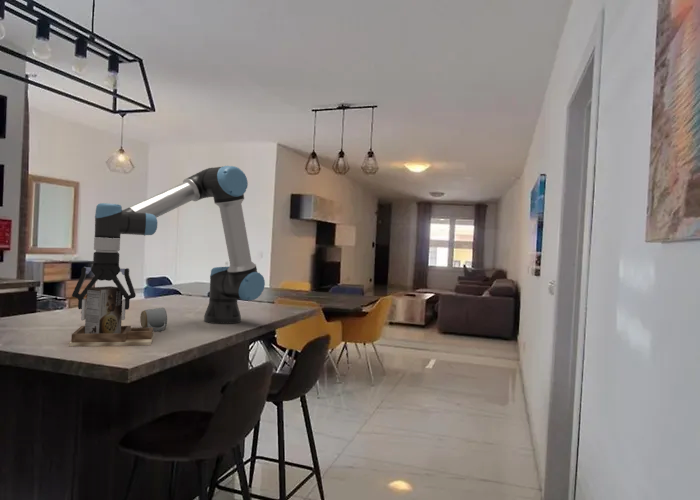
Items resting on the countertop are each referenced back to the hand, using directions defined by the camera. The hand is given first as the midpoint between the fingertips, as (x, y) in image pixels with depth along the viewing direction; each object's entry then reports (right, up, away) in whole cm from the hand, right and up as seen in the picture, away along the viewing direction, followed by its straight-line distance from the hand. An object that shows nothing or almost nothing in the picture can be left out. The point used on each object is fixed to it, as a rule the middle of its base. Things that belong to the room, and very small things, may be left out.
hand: (103, 319), depth 161 cm
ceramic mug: (+7, -7, +25) cm, 27 cm away
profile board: (+3, -7, +1) cm, 8 cm away
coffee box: (0, -6, 0) cm, 6 cm away
